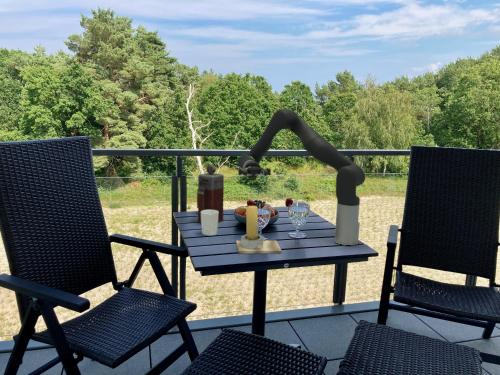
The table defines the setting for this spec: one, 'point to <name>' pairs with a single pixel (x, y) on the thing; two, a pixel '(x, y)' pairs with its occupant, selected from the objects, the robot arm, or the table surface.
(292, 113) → the robot arm
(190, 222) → the table surface
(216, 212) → the white cup
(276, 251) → the birch board
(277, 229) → the table surface
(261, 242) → the steel ring collar
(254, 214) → the ochre steel pin
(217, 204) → the french press
